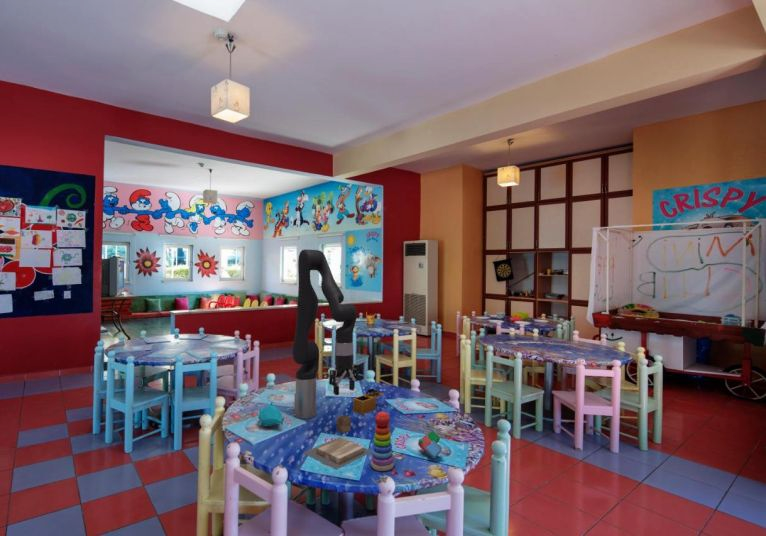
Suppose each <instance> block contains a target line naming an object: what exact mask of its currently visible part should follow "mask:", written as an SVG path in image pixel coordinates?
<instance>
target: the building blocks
mask: <svg viewBox="0 0 766 536" xmlns="http://www.w3.org/2000/svg"><path fill="white" fill-rule="evenodd" d="M440 440H441V438H440V436H439V435H438V434H437V433H436V432H435V431H434V430H433V429H432V430H431V431H430V432H429V433H428V434H427V435H426V434H424V436H423V437H422V438H419V439H418V442H417V445H418V447H420V449H421V450H422V451H423V452H424V453H425V454H428V455H429V456H430V457H431V458H432V460H435V459H436V457H438V455H439V454H440V453H441V452H442V448H441V447H440V445H439V444H438V443H439V441H440Z"/></svg>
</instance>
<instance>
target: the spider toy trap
mask: <svg viewBox="0 0 766 536" xmlns="http://www.w3.org/2000/svg"><path fill="white" fill-rule="evenodd" d="M383 396H384V393H383V392H379V390H377V389H375V388H368V389H367V391H366V392H365V394H363V395H360V396H359V395H358V396H357V397H354V398H353V400H352V402H353V403H352V406H353V407H352V410H353V412H354V413H357V414H361V415H365V414H368V413H370V412H373V411H375V410H376V409H377V398H379V397H383Z"/></svg>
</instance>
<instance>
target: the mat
mask: <svg viewBox="0 0 766 536" xmlns="http://www.w3.org/2000/svg"><path fill="white" fill-rule="evenodd" d="M339 438H341V437H340V436H339V437H338V438H335V439H333V440H329V441H328V442H325V443H322V444H320V445H318V446H316V447H313V448H311V449H309V450H306V451H304V452H302V454H304V455H306V456H307V457H310V458H312V459H314V460H316V461H317V462H320V463H322V464H324V465H325V466H327V467H330V468H332V469H333V470H339V469H341V468H343V467H345V466H346V465H349V464H351V463H353V462H355V461H357V460H359V459H361V458H363V457H365V456H367V455H369V454H372V450H371V449H368V448H366V447H364V453H362V454H360V455H358V456H356V457H354V458H352V459H350V460H348V461H346V462H343V463H341V464H337V463H335V462H333V461H331V460H329V459H327V458H325V457H323V456H321V455H319V454H317V448H318V447H320V446H323V445H325V444H327V443H330V442H332V441H334V440H337V439H339Z"/></svg>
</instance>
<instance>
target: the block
mask: <svg viewBox="0 0 766 536" xmlns="http://www.w3.org/2000/svg"><path fill="white" fill-rule="evenodd" d="M351 418H352V417H351V416H348V415H346V414H343V415H340V416H337V417H336V431H337V432H339V433H342V434H345V433H347V432H350V431H351V425H352V423H351V422H352V420H351Z"/></svg>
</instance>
